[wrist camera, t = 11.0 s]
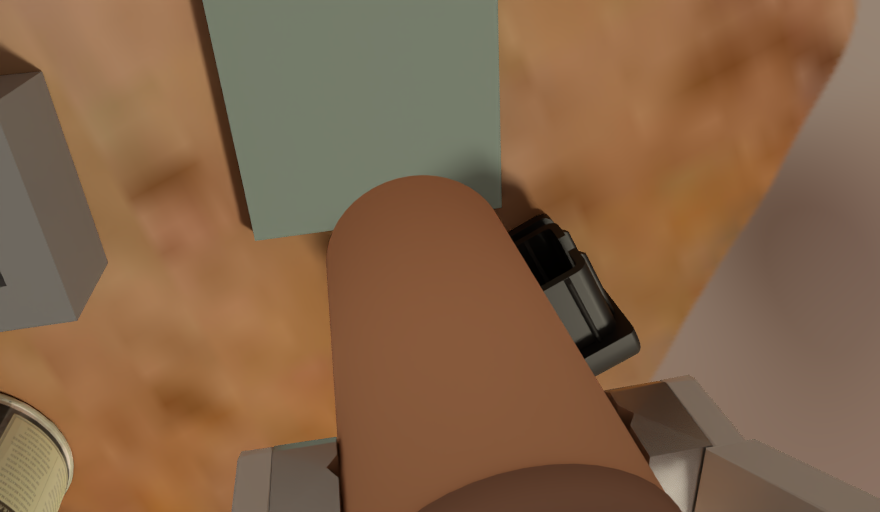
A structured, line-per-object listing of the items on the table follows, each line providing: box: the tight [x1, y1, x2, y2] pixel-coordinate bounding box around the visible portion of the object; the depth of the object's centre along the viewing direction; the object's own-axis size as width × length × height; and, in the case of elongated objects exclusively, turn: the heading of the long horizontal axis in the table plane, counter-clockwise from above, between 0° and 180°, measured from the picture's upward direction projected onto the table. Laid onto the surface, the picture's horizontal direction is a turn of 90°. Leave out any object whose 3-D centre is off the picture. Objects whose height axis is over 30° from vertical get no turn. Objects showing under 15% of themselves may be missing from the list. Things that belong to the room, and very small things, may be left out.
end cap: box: [508, 214, 641, 376], centre depth 34 cm, size 10×7×7 cm
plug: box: [326, 175, 682, 512], centre depth 12 cm, size 4×4×10 cm
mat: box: [202, 0, 502, 241], centre depth 30 cm, size 12×12×1 cm
